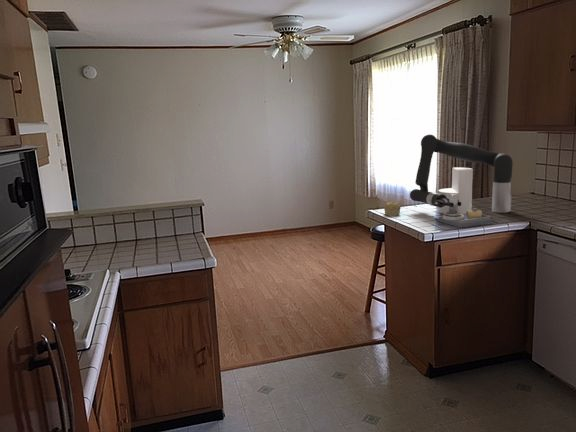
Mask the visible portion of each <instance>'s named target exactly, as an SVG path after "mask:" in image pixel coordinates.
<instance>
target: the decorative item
mask: <svg viewBox="0 0 576 432" xmlns="http://www.w3.org/2000/svg"><path fill="white" fill-rule="evenodd" d="M401 208H402V207H401V205H400V203H399V202H398V201H388V202H386V203H385V205H384V208H383V209H384V215H385V216H389V217H390V216H391V217H395V216H396V217H397V216H399V215H400V213H401V212H400V211H401Z"/></svg>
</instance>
